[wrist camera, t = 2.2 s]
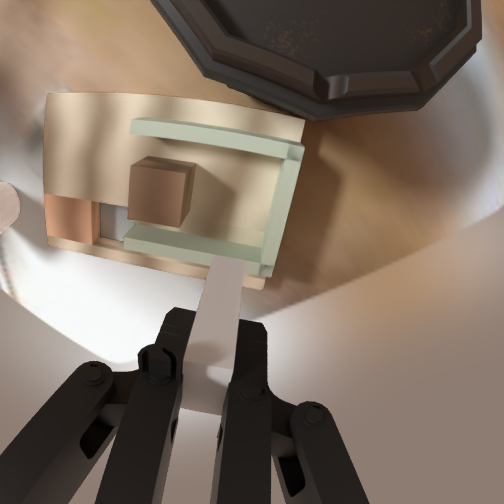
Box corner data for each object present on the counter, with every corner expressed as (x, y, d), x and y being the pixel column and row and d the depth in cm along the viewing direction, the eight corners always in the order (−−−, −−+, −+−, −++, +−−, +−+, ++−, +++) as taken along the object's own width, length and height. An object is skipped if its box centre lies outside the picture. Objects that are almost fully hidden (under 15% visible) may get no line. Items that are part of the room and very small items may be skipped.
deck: (56, 237, 31) (48, 245, 30) (57, 92, 24) (46, 93, 22) (262, 279, 33) (262, 290, 31) (302, 118, 25) (305, 120, 24)
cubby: (135, 234, 29) (123, 248, 26) (144, 116, 24) (131, 119, 21) (270, 260, 30) (271, 277, 27) (300, 142, 24) (304, 147, 22)
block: (143, 202, 27) (127, 218, 24) (147, 155, 25) (130, 165, 22) (189, 210, 28) (179, 228, 24) (196, 163, 26) (185, 173, 22)
